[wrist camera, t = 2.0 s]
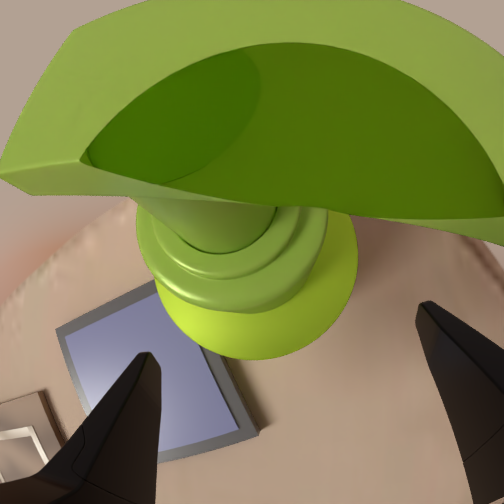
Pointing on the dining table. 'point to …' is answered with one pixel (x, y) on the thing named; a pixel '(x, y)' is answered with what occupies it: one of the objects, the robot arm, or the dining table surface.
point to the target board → (27, 437)
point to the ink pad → (172, 366)
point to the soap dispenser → (268, 148)
